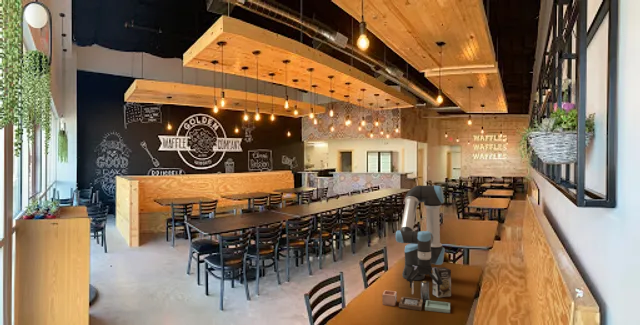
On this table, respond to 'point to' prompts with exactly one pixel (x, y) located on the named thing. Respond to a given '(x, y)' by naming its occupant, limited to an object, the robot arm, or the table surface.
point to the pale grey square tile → (411, 302)
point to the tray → (437, 306)
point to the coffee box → (446, 278)
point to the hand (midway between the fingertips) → (424, 294)
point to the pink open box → (389, 297)
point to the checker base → (414, 307)
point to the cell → (424, 291)
